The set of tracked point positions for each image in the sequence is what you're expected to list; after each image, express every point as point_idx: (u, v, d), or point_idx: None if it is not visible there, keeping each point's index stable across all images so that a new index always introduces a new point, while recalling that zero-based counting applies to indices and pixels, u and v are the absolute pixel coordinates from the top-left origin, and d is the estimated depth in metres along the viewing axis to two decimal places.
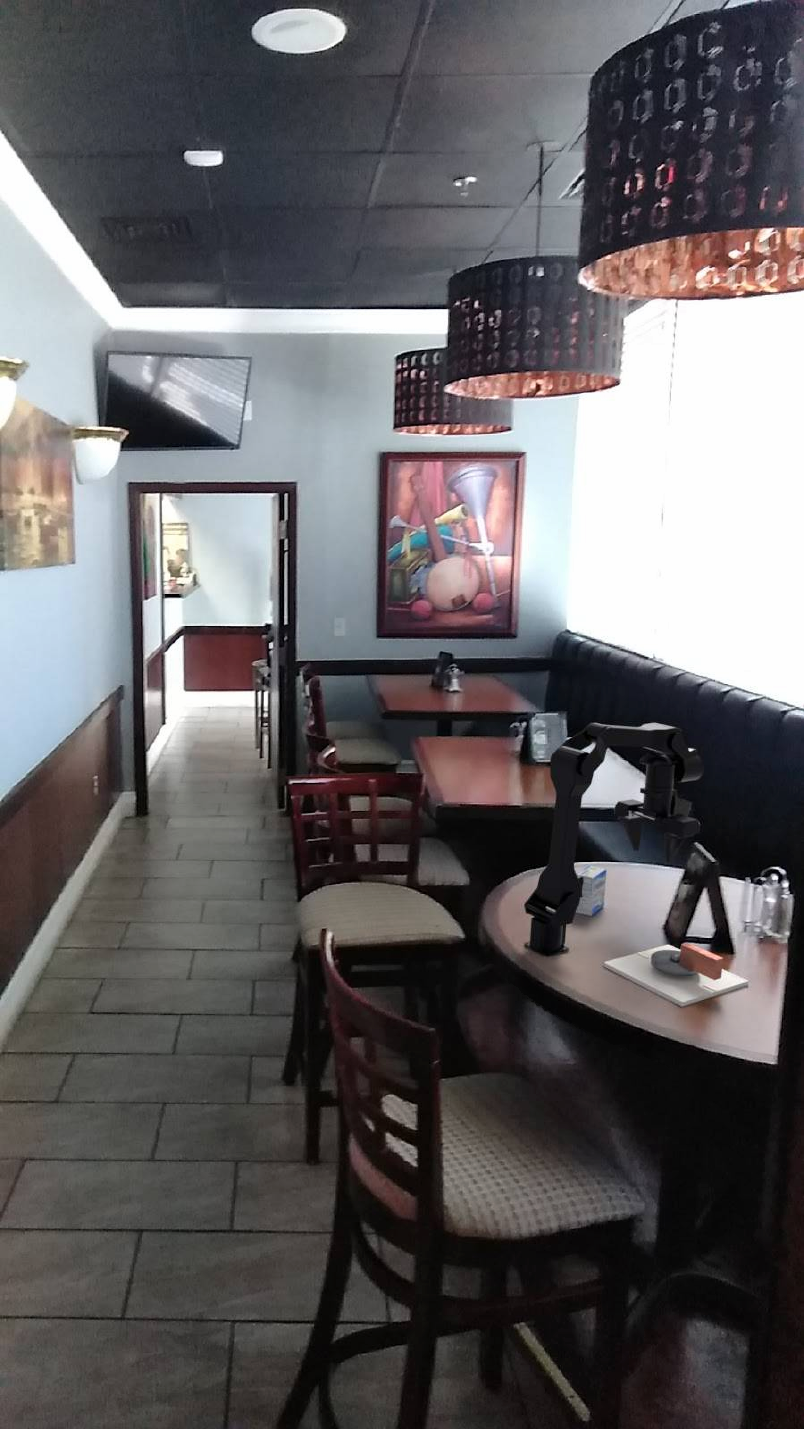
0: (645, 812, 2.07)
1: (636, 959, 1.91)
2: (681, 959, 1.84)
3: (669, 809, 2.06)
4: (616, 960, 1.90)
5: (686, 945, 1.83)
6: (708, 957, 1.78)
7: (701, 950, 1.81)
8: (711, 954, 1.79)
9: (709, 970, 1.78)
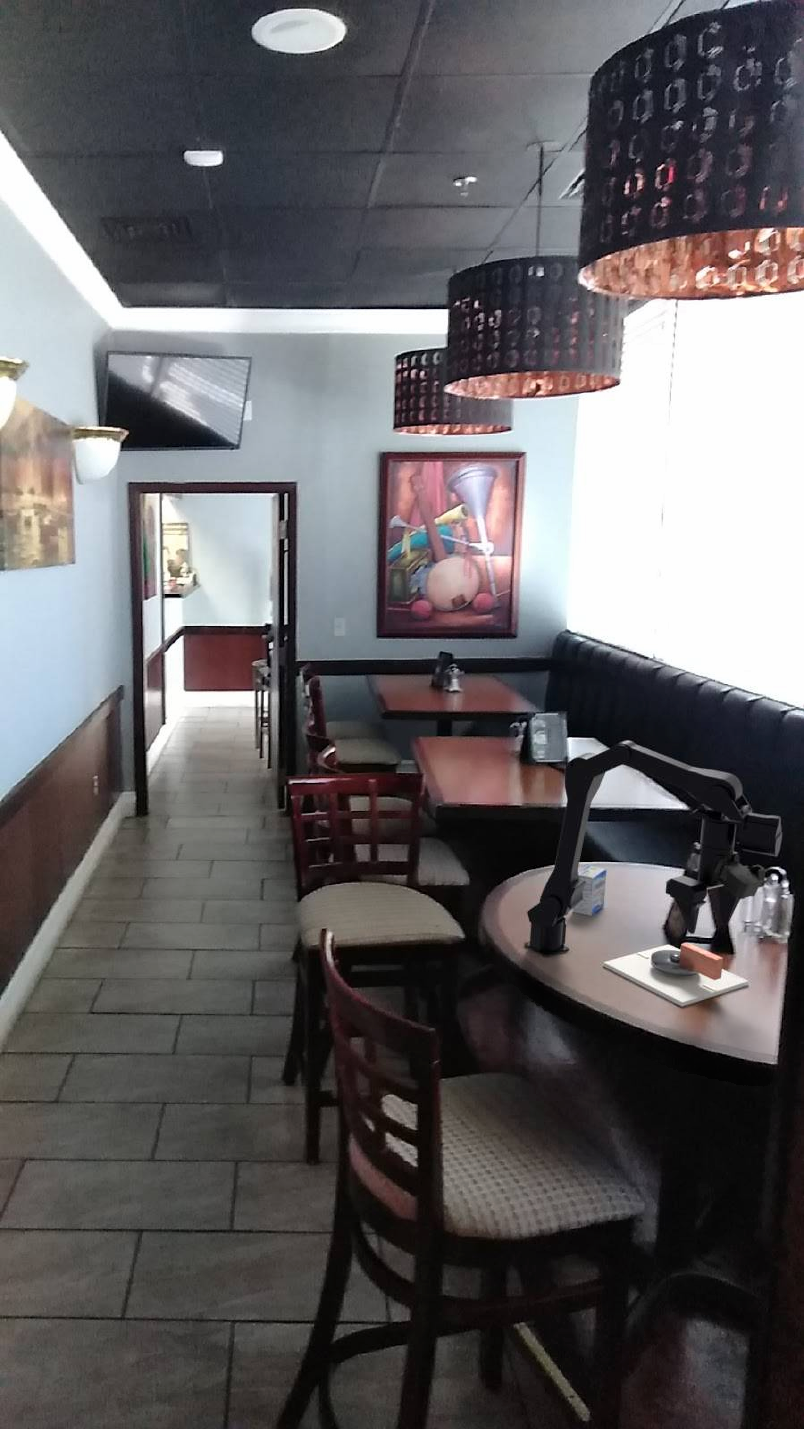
0: None
1: (636, 959, 1.91)
2: (681, 959, 1.84)
3: (707, 873, 1.75)
4: (616, 960, 1.90)
5: (686, 945, 1.83)
6: (708, 957, 1.78)
7: (701, 950, 1.81)
8: (711, 954, 1.79)
9: (709, 970, 1.78)
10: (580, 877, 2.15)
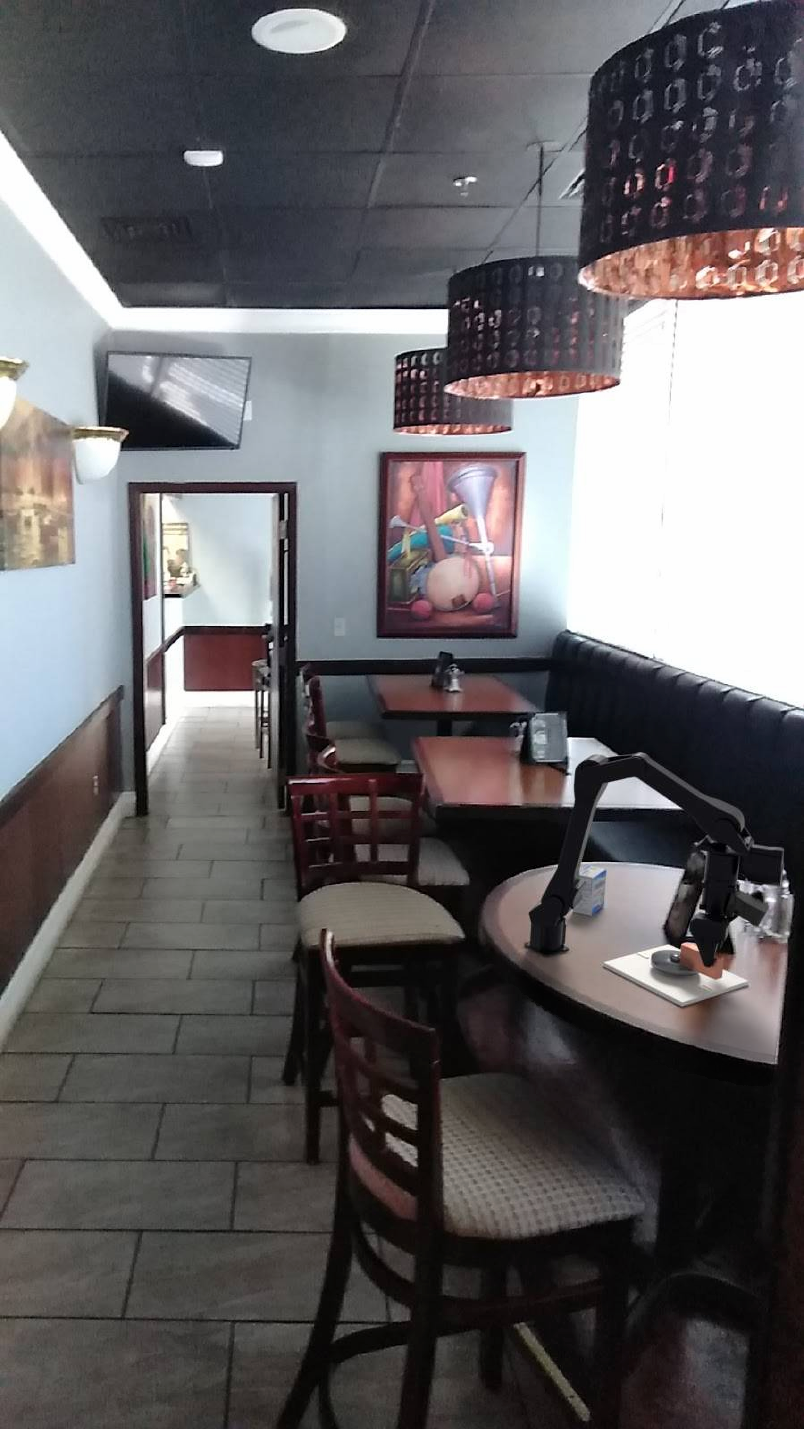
0: None
1: (636, 959, 1.91)
2: (681, 959, 1.84)
3: (719, 906, 1.78)
4: (616, 960, 1.90)
5: (686, 945, 1.83)
6: None
7: None
8: None
9: (710, 970, 1.78)
10: (580, 877, 2.15)
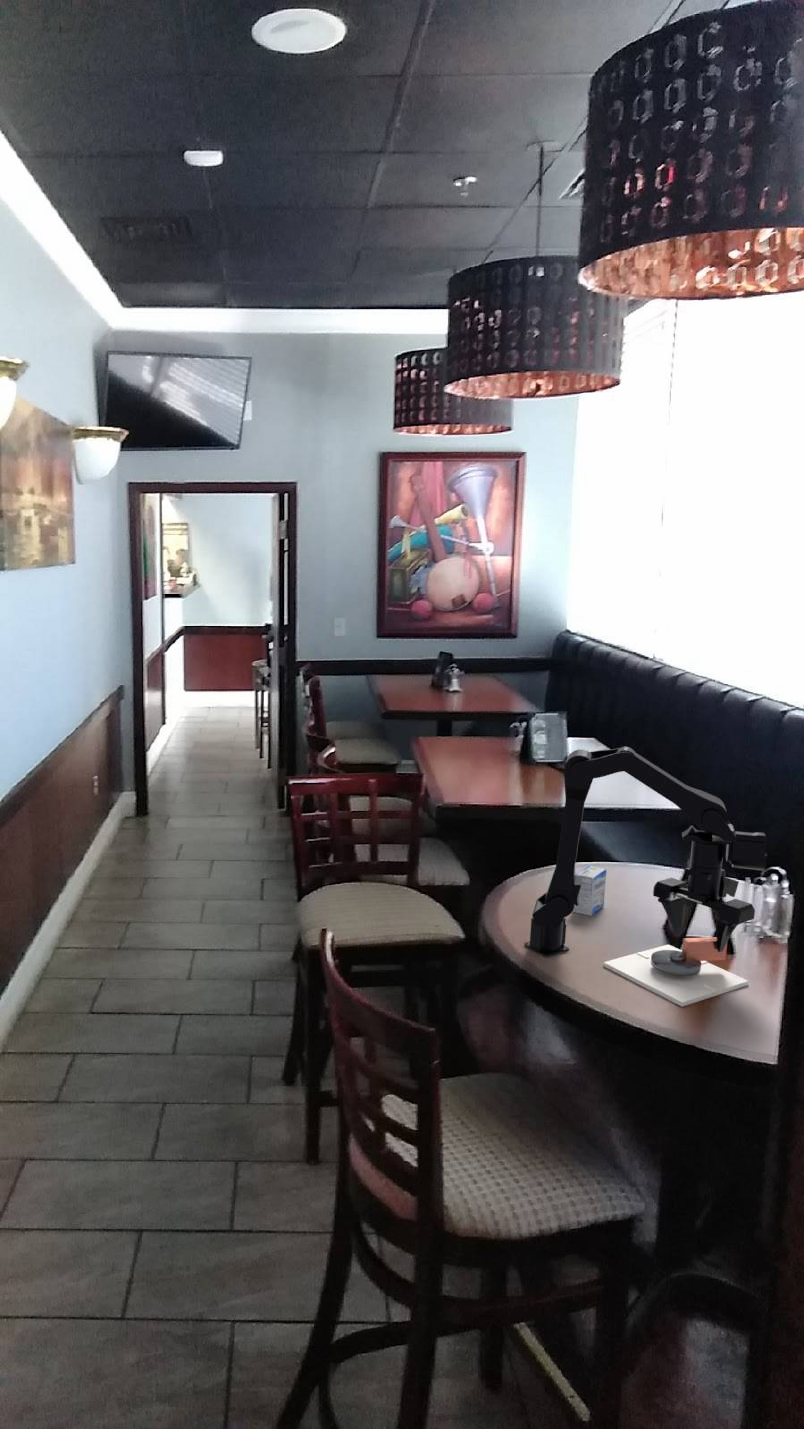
0: (692, 895, 1.86)
1: (636, 959, 1.91)
2: (688, 956, 1.85)
3: (718, 891, 1.86)
4: (616, 960, 1.90)
5: (691, 941, 1.85)
6: None
7: (704, 939, 1.86)
8: (713, 938, 1.87)
9: (720, 953, 1.86)
10: None
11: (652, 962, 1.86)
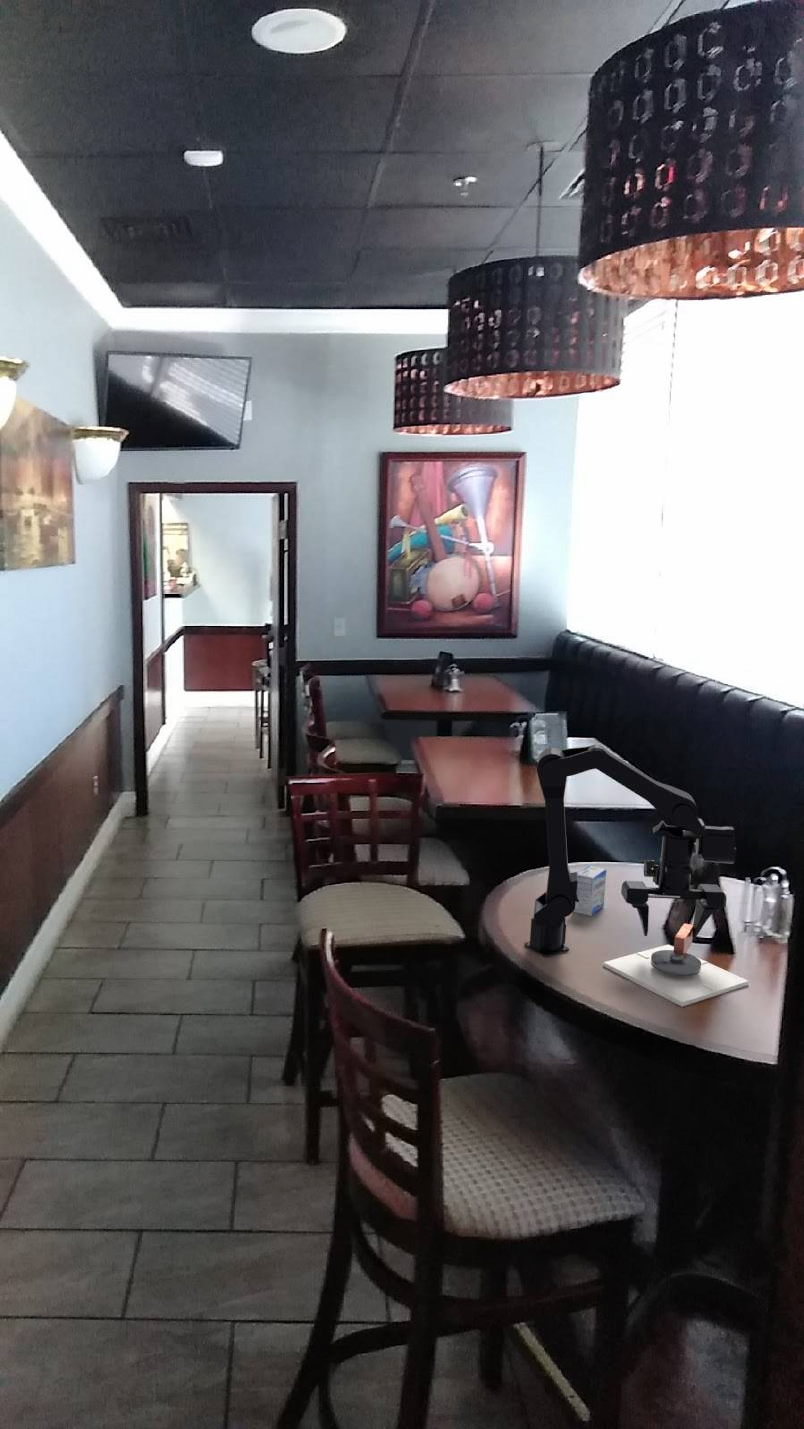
0: (675, 892, 1.87)
1: (636, 959, 1.91)
2: (683, 952, 1.87)
3: None
4: (616, 960, 1.90)
5: (683, 936, 1.87)
6: (691, 929, 1.92)
7: (683, 930, 1.90)
8: (684, 927, 1.92)
9: (691, 939, 1.92)
10: (580, 877, 2.15)
11: (667, 970, 1.82)
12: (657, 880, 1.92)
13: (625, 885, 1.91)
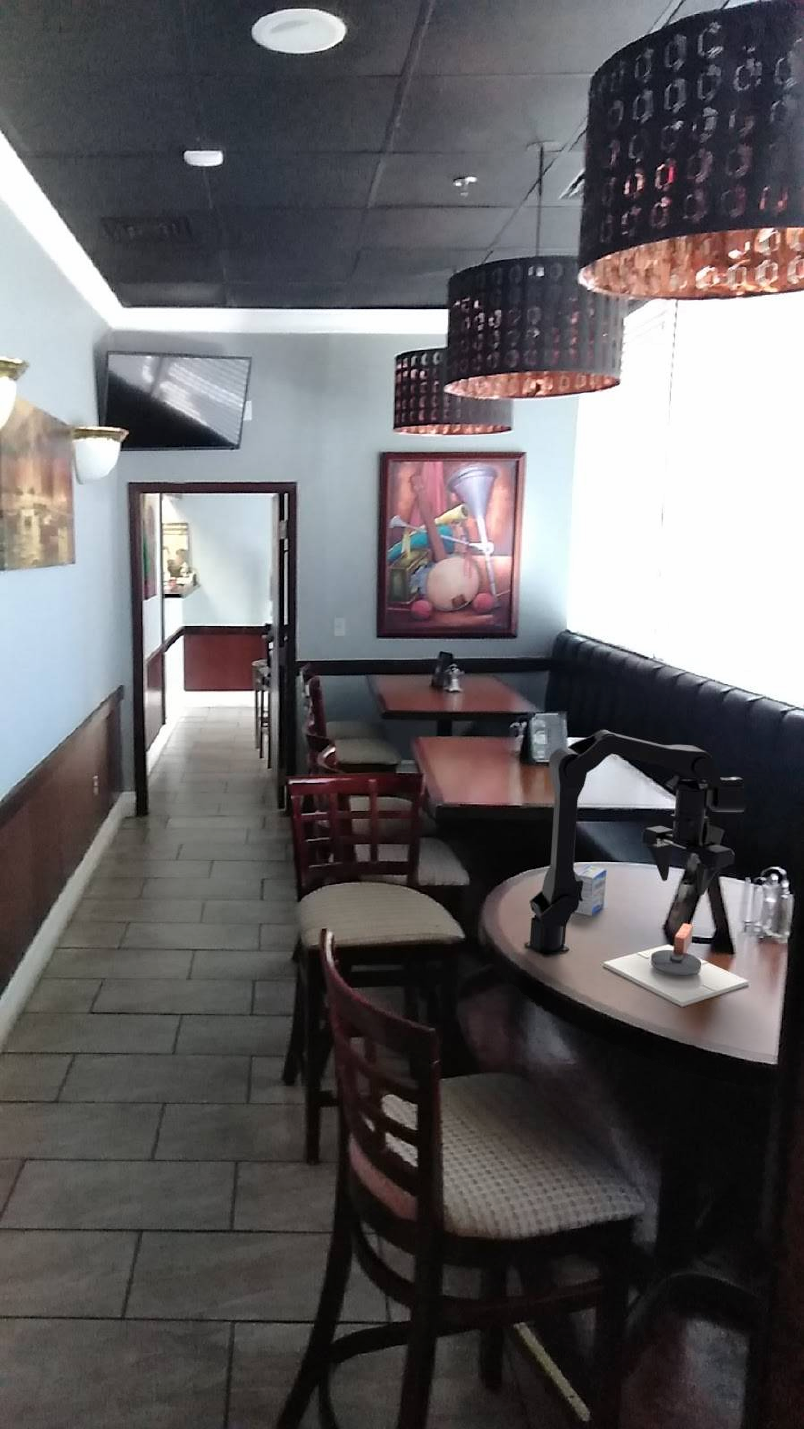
0: (675, 840, 1.95)
1: (636, 959, 1.91)
2: (683, 952, 1.87)
3: (701, 837, 1.94)
4: (616, 960, 1.90)
5: (683, 936, 1.87)
6: (691, 928, 1.92)
7: (682, 930, 1.90)
8: (684, 927, 1.92)
9: (690, 939, 1.92)
10: (580, 877, 2.15)
11: (668, 970, 1.82)
12: None
13: None
